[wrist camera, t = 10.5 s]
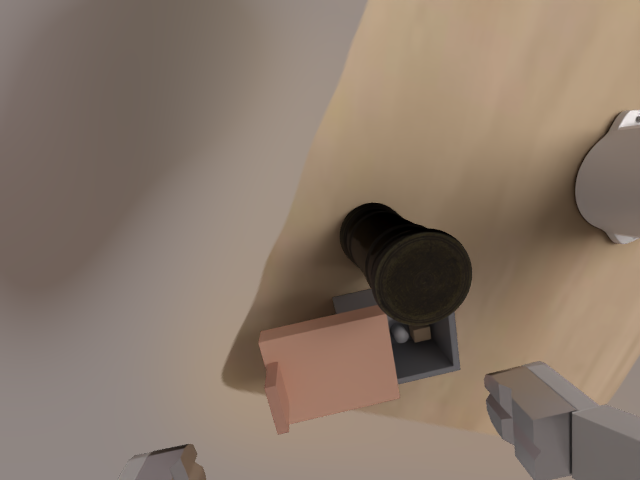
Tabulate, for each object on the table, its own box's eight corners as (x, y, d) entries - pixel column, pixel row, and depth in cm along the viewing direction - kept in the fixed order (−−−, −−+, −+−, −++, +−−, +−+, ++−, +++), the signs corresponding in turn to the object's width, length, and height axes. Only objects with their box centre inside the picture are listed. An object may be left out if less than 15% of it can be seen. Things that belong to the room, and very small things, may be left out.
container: (381, 275, 43) (440, 347, 26) (327, 248, 41) (350, 304, 24) (414, 221, 42) (500, 257, 24) (359, 190, 40) (408, 206, 22)
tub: (425, 276, 44) (453, 299, 36) (432, 336, 46) (460, 369, 38) (332, 297, 43) (340, 325, 35) (344, 356, 46) (354, 394, 38)
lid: (380, 304, 37) (398, 332, 30) (393, 384, 39) (412, 424, 33) (260, 331, 36) (253, 365, 30) (283, 410, 39) (280, 456, 33)
